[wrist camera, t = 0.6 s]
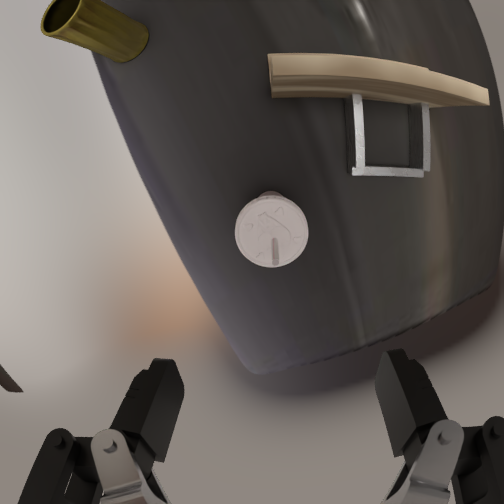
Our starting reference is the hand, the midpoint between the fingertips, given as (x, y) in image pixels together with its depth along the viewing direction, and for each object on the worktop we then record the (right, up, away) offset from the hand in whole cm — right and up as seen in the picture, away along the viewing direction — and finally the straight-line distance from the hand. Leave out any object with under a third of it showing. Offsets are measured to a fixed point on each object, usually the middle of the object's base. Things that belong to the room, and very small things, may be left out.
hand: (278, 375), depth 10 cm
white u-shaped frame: (+14, +18, +18) cm, 30 cm away
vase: (-17, +31, +15) cm, 38 cm away
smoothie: (+1, +10, +23) cm, 25 cm away
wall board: (+11, +25, +16) cm, 31 cm away
